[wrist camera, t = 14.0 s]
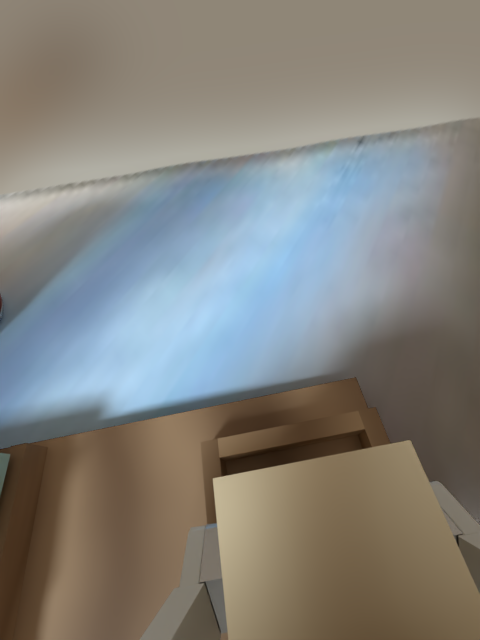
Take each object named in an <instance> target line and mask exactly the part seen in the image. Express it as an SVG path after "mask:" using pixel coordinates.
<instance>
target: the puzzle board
mask: <svg viewBox="0 0 480 640" xmlns="http://www.w3.org/2000/svg"><path fill="white" fill-rule="evenodd" d="M387 444H391V443H390V441H389V438H388V436H387V433H386V431H385V428H384V426H383V424H382V421H381V419H380V416H379V414H378V412H377V409H376V407H374V408H369V409H368V407H367V404H366V402H365V399H364V397H363V394H362V391H361V389H360V386H359V384H358V381H357V379H356V377H355V378H350V379H345V380H340V381H335V382H330V383H325V384H320V385H315V386H311V387H306V388H301V389H296V390H291V391H286V392H281V393H276V394H271V395H266V396H261V397H256V398H251V399H246V400H241V401H236V402H232V403H227V404H222V405H217V406H212V407H207V408H202V409H197V410H192V411H187V412H182V413H177V414H172V415H167V416H162V417H157V418H153V419H148V420H143V421H138V422H133V423H128V424H123V425H118V426H113V427H108V428H103V429H98V430H93V431H88V432H83V433H79V434H74V435H69V436H64V437H59V438H54V439H49V440H44V441H39V442H34V443H24V444H19V445H14V446H11V447H9V448H4V449H0V453H5V454H10V458H9V463H8V467H7V471H6V475H5V479H4V483H3V487H2V491H1V495H0V640H140V638H141V637H142V635H143V634H144V632H145V631H146V629H147V628H148V626H149V625H150V623H151V622H152V620H153V619H154V617H155V616H156V614H157V613H158V612H159V610H160V609H161V607H162V606H163V604H164V603H165V601H166V600H167V598H168V597H169V595H170V594H171V592H172V591H173V589H174V588H178V587H179V585H180V579H181V573H182V567H183V561H184V555H185V549H186V543H187V537H188V532H189V530H190V528H191V527H197V526H203V525H208V524H214V523H217V518H216V508H215V498H214V487H213V478H218V477H223V476H228V475H233V474H238V473H243V472H248V471H253V470H259V469H264V468H269V467H274V466H279V465H284V464H289V463H294V462H300V461H305V460H310V459H315V458H320V457H325V456H330V455H335V454H341V453H346V452H351V451H356V450H361V449H366V448H371V447H376V446H382V445H387ZM220 640H228V632H227V633H222V634H221V638H220Z"/></svg>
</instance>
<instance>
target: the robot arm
mask: <svg viewBox="0 0 480 640" xmlns="http://www.w3.org/2000/svg"><path fill="white" fill-rule="evenodd" d="M429 483H430V485H431V487H432V489H433V491H434V494H435V496H436V498H437V500H438V503H439V505H440V507H441V509H442V511H443V514H444V516H445V518H446V520H447V523H448V525H449V527H450V529H451V531H452V534H453V536H454V538H455V540H456V543H457V545H458V547H459V549H460V551H461V554H462V556H463V558H464V560H465V563H466V565H467V567H468V569H469V572H470V574H471V576H472V578H473V580H474V583H475V585H476V587H477V589H478V592H479V594H480V525H479V524H478V523H477V522H476V521H475V520H474V518H473V517H472V516H471V515H470V514H469V513H468V512H467V511H466V510H465V509H464V508H463V506H462V505H461V504H460V503H459V502H458V501H457V500H456V499H455V498H454V497H453V496H452V494H451V493H450V492H449V491H448V490H447V489H446V488H445V487H444V486H443V485H442V483H440V482H438V481H434V482H429ZM227 632H228V631H227V621H226V611H225V600H224V590H223V580H222V570H221V559H220V549H219V539H218V528H217V523H214V524H208V525H203V526H197V527H191V528H190V530H189V532H188V537H187V543H186V549H185V555H184V561H183V567H182V573H181V579H180V585H179V587H178V588H174V589H173V591H172V592H171V594H170V595H169V597H168V598H167V600H166V601H165V603H164V604H163V606H162V607H161V609H160V610H159V612H158V613H157V614H156V616H155V617H154V619H153V620H152V622H151V623H150V625H149V626H148V628H147V629H146V631H145V632H144V634H143V635H142V637H141V638H140V640H220V638H221V634H222V633H227Z"/></svg>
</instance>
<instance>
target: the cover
mask: <svg viewBox="0 0 480 640" xmlns="http://www.w3.org/2000/svg"><path fill="white" fill-rule="evenodd" d="M9 458H10V454H5V453H0V495H1V491H2V487H3V483H4V479H5V475H6V471H7V467H8V463H9Z"/></svg>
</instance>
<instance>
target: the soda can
mask: <svg viewBox="0 0 480 640" xmlns="http://www.w3.org/2000/svg"><path fill="white" fill-rule="evenodd" d="M2 312H3V300H2V297H1V294H0V319H1V317H2Z"/></svg>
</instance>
